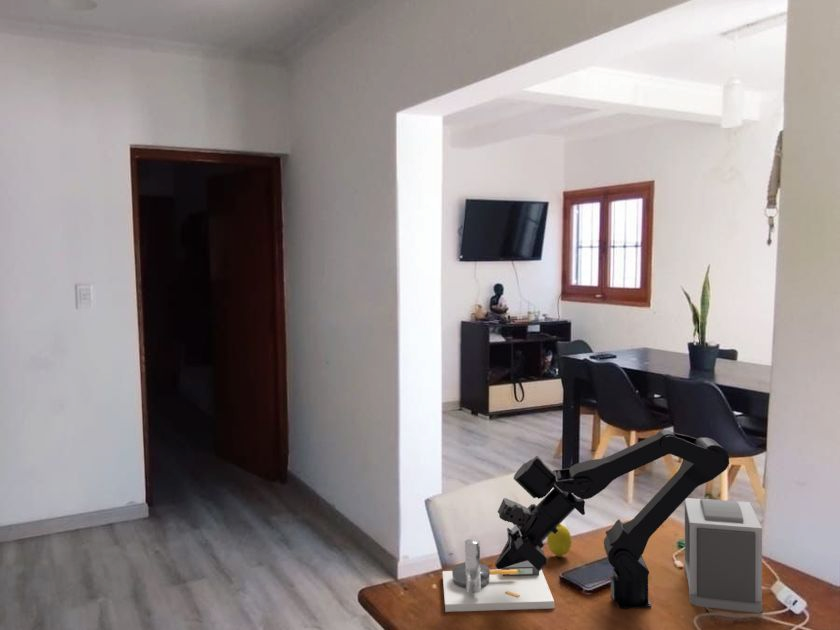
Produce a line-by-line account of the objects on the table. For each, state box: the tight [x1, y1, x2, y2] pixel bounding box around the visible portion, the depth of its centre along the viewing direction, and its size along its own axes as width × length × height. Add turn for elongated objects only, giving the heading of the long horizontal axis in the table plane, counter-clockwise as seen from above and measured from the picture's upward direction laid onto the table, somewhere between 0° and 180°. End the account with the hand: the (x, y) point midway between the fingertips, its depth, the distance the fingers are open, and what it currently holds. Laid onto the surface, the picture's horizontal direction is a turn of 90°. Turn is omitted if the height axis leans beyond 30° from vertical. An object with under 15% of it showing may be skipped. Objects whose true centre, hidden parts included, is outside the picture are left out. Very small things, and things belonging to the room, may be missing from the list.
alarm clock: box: [684, 497, 763, 614], centre depth 142 cm, size 18×13×18 cm
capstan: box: [451, 538, 517, 593], centre depth 144 cm, size 14×12×11 cm
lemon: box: [546, 523, 572, 558], centre depth 160 cm, size 6×6×8 cm
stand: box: [442, 561, 555, 613], centre depth 144 cm, size 22×15×4 cm
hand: (496, 567), depth 140 cm, fingers closed
